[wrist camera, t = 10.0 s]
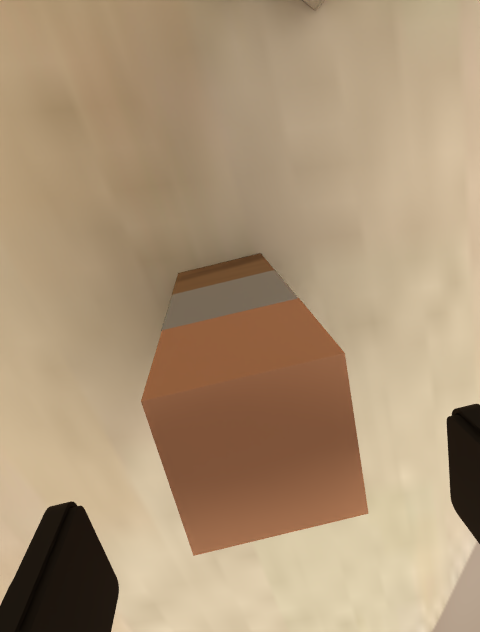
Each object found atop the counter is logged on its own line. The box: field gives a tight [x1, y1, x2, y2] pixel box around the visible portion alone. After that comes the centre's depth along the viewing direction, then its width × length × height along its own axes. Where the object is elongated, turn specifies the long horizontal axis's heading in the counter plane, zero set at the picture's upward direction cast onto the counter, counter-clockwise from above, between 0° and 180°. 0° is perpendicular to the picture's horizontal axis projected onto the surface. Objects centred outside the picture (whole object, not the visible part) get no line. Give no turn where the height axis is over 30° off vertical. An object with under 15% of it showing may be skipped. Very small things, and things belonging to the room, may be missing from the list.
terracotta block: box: [141, 298, 368, 555], centre depth 15 cm, size 6×6×6 cm
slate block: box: [161, 270, 298, 331], centre depth 21 cm, size 6×6×6 cm
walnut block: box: [172, 253, 274, 295], centre depth 27 cm, size 6×6×6 cm
